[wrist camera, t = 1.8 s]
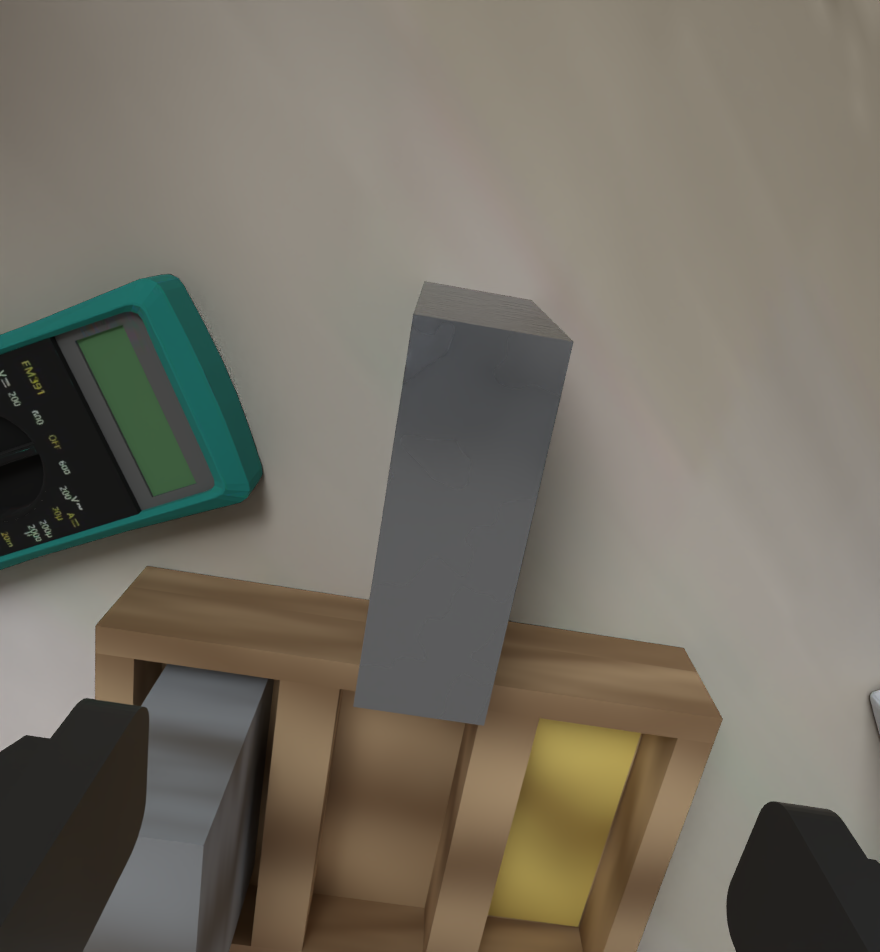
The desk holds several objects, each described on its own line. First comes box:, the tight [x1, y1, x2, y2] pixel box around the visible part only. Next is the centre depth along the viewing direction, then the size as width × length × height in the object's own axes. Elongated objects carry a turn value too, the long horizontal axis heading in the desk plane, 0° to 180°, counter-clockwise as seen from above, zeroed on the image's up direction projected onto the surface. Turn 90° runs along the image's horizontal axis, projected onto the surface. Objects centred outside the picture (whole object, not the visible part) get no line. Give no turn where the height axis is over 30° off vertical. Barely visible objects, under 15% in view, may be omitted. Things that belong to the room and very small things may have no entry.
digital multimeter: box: [0, 274, 263, 570], centre depth 23 cm, size 7×15×3 cm, turn 108°
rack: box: [83, 566, 723, 952], centre depth 24 cm, size 14×20×10 cm
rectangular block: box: [353, 282, 573, 726], centre depth 20 cm, size 10×3×8 cm, turn 170°
